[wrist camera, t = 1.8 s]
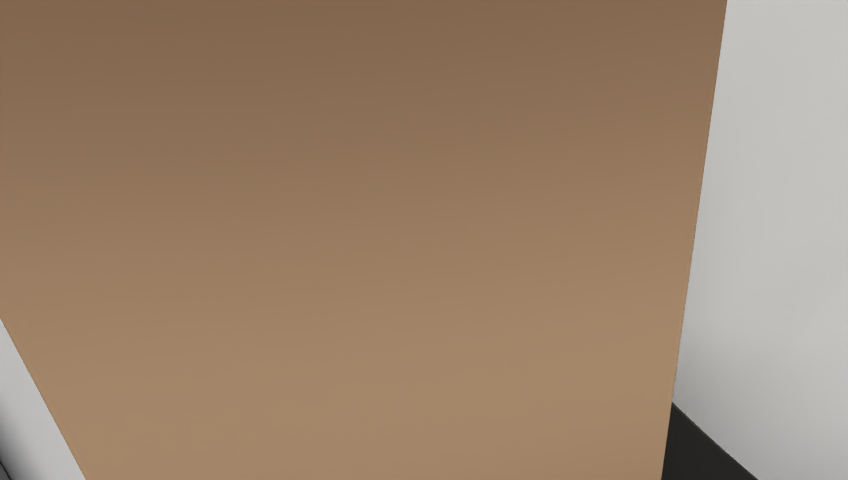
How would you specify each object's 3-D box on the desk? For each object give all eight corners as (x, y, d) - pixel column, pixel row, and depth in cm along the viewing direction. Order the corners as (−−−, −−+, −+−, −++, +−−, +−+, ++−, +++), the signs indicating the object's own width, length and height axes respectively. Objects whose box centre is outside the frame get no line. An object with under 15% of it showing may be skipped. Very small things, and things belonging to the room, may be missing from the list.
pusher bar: (510, 531, 14) (594, 958, 9) (360, 548, 14) (354, 987, 9) (484, -171, 7) (743, -139, 2) (202, -141, 7) (-186, -37, 2)
